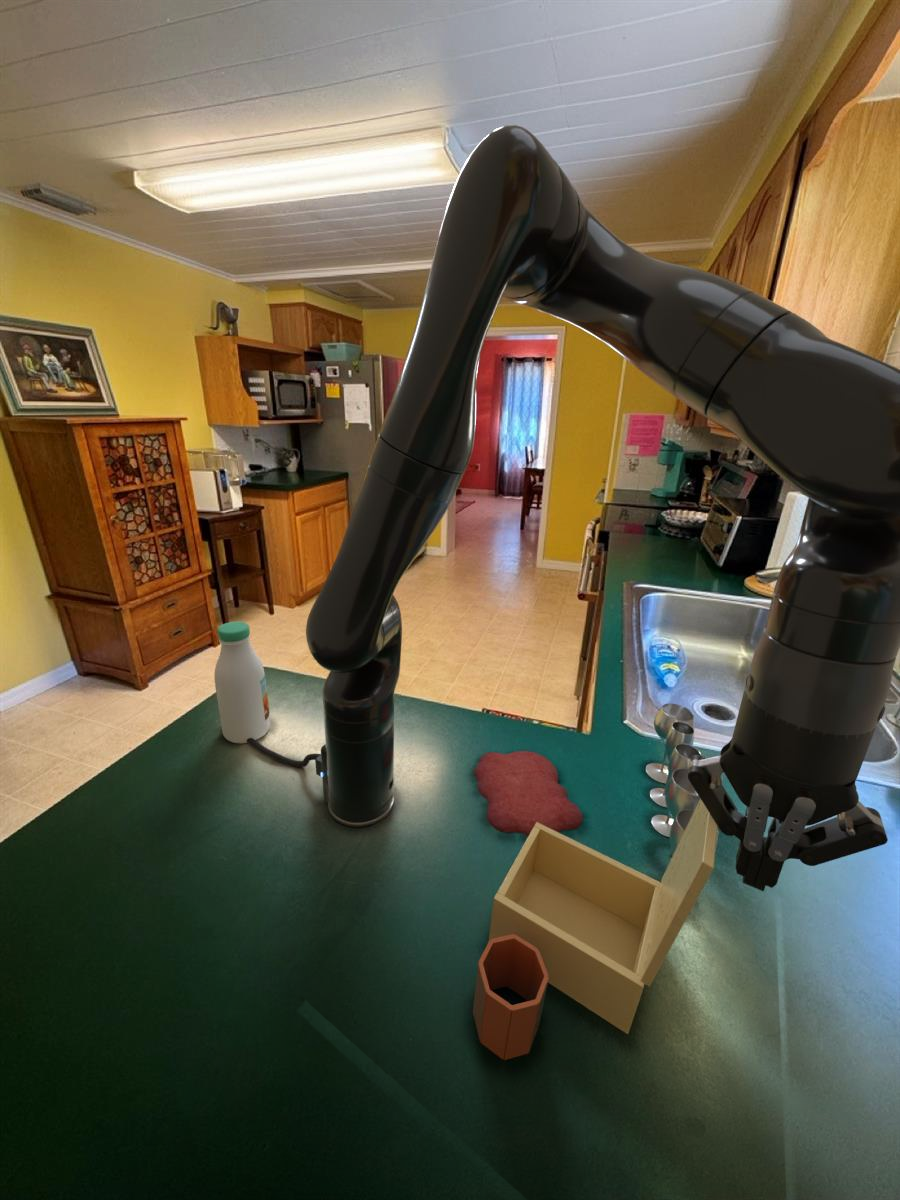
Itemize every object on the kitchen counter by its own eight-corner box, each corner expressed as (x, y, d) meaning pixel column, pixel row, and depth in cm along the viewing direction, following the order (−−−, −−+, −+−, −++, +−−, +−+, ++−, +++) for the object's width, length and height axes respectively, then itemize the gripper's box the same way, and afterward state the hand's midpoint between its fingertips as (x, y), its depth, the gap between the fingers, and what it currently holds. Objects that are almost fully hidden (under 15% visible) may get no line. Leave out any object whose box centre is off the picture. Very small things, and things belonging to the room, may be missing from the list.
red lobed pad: (591, 835, 65) (593, 825, 64) (494, 848, 62) (495, 836, 62) (544, 751, 81) (546, 741, 80) (466, 758, 78) (467, 748, 77)
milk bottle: (260, 745, 78) (247, 638, 71) (214, 743, 78) (196, 636, 71) (277, 717, 86) (266, 617, 78) (234, 715, 86) (220, 615, 78)
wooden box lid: (702, 862, 34) (714, 868, 34) (713, 769, 44) (723, 774, 43) (640, 981, 41) (649, 987, 41) (661, 878, 50) (669, 883, 50)
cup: (463, 1034, 44) (468, 980, 41) (491, 975, 48) (498, 923, 45) (520, 1078, 41) (531, 1024, 38) (544, 1012, 45) (555, 959, 42)
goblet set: (701, 924, 54) (733, 840, 49) (648, 906, 56) (674, 823, 51) (677, 766, 79) (697, 699, 74) (641, 757, 81) (658, 691, 76)
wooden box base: (487, 947, 51) (493, 898, 48) (529, 867, 60) (536, 821, 57) (626, 1039, 44) (643, 987, 41) (649, 932, 53) (664, 884, 50)
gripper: (920, 700, 33) (846, 882, 39) (707, 654, 39) (672, 816, 45) (956, 762, 27) (862, 966, 33) (697, 696, 33) (659, 876, 39)
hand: (752, 879), depth 39 cm, fingers closed
